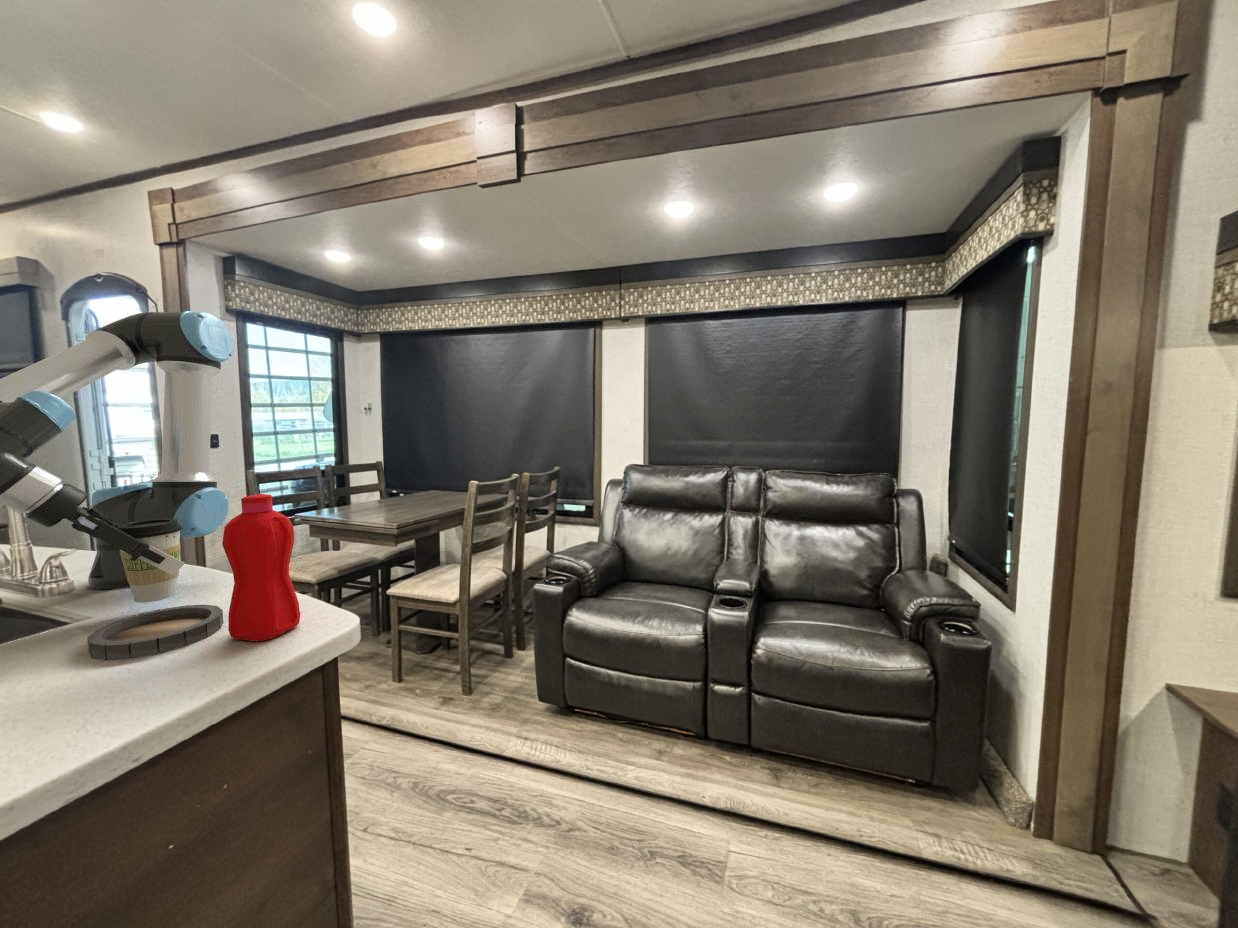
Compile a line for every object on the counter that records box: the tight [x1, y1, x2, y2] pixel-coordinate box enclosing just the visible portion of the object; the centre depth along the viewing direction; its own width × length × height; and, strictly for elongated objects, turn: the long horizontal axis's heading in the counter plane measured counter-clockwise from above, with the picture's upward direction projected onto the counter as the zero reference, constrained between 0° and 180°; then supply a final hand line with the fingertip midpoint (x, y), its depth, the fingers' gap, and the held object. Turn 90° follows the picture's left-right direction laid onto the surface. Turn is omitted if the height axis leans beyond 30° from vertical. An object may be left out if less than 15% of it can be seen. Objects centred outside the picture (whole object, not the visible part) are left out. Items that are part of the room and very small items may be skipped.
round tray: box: [86, 604, 224, 661], centre depth 86 cm, size 17×17×2 cm
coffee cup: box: [117, 519, 183, 604], centre depth 96 cm, size 10×10×15 cm
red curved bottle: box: [221, 493, 301, 642], centre depth 86 cm, size 9×11×25 cm
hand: (173, 564), depth 99 cm, fingers closed on coffee cup, 10 cm apart
